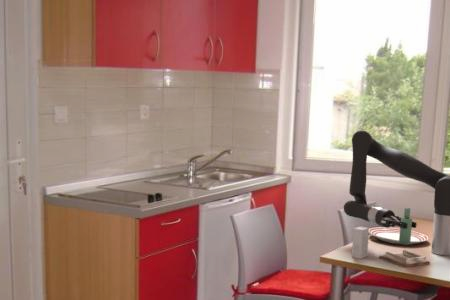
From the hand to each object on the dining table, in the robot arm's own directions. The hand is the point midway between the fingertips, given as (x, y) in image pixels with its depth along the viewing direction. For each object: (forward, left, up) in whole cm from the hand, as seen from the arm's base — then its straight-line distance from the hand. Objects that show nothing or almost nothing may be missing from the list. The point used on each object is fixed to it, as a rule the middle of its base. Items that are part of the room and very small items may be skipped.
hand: (411, 225), depth 239 cm
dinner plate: (-26, -32, -16) cm, 45 cm away
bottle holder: (0, -3, -15) cm, 15 cm away
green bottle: (0, -3, -7) cm, 8 cm away
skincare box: (+13, -15, -15) cm, 25 cm away
